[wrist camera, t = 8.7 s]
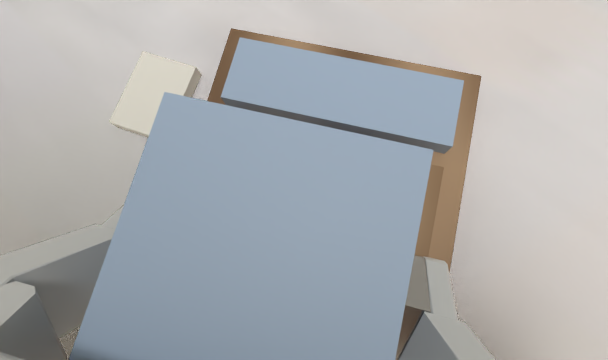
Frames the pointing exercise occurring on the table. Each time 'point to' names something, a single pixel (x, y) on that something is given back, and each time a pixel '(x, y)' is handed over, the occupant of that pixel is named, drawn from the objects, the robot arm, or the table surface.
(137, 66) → the cream rectangular block
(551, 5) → the table surface
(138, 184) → the block
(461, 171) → the tray
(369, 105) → the plate
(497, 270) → the table surface
